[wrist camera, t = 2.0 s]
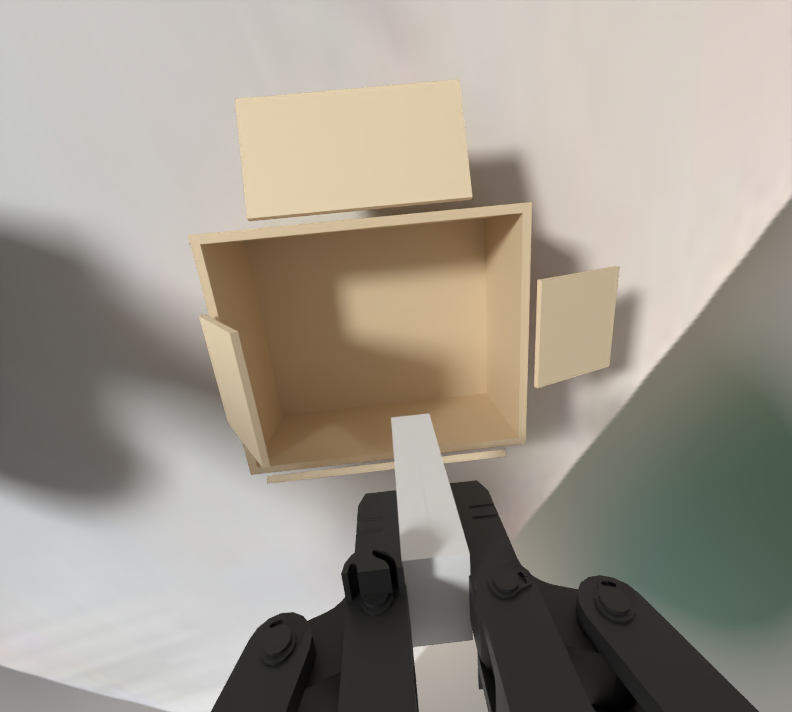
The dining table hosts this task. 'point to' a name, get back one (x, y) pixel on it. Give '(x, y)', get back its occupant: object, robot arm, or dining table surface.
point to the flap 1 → (234, 385)
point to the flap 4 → (574, 324)
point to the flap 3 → (377, 467)
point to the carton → (378, 329)
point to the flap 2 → (353, 149)
